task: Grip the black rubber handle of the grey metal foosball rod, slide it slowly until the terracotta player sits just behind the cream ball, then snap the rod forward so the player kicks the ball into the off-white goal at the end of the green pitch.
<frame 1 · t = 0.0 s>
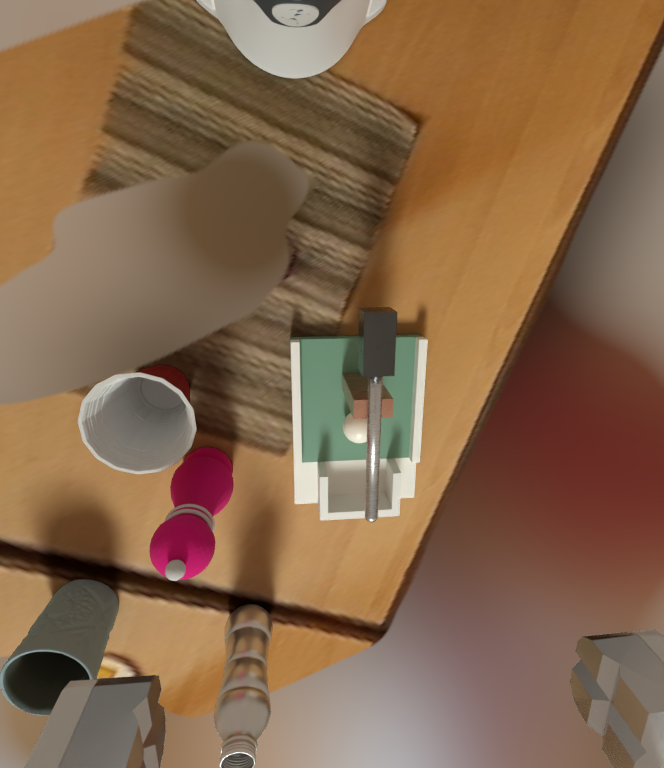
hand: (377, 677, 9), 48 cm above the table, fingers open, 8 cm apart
pitch: (354, 419, 59), on the table
plastic cup: (167, 387, 56), on the table
pepper mill: (208, 467, 60), on the table
ball: (359, 426, 56), point 3 cm above the table, touching pitch
grey textured cup: (89, 603, 64), on the table
kicker rod: (367, 368, 49), point 8 cm above the table, slide at 0.0 cm
plastic bottle: (250, 614, 67), on the table
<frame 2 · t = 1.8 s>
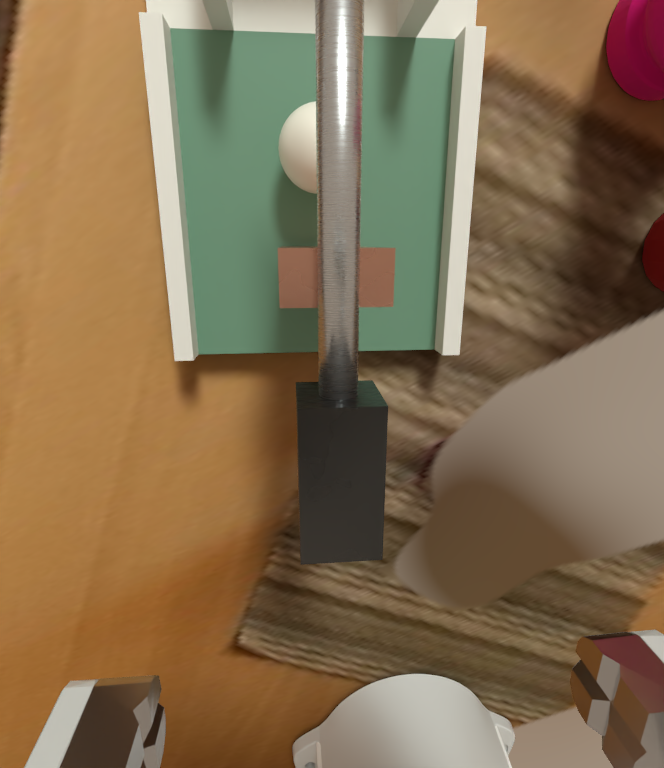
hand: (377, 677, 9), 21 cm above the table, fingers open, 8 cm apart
pitch: (315, 151, 26), on the table
pepper mill: (656, 38, 26), on the table
ball: (319, 149, 22), point 3 cm above the table, touching pitch
kicker rod: (328, 344, 20), point 8 cm above the table, slide at 0.0 cm
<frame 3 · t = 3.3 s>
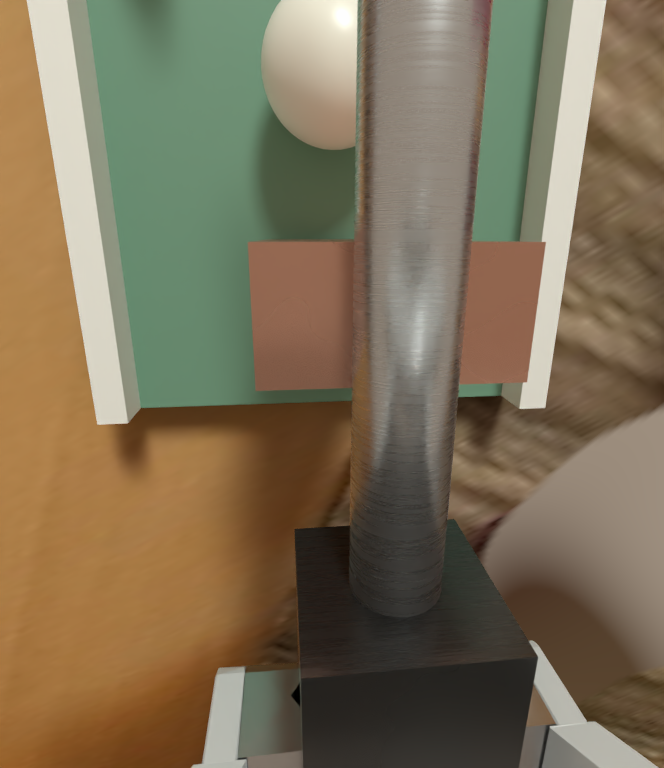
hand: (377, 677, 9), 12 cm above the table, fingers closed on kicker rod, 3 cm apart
pitch: (323, 87, 16), on the table
ball: (333, 69, 13), point 3 cm above the table, touching pitch
kicker rod: (353, 421, 11), point 8 cm above the table, slide at 0.0 cm, touching gripper
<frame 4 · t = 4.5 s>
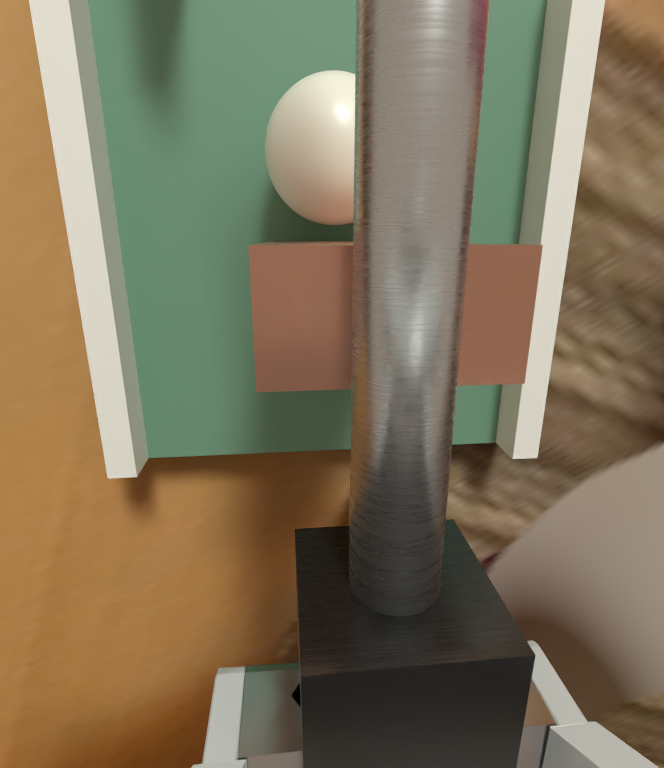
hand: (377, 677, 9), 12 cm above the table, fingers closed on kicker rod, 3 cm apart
pitch: (323, 154, 17), on the table
ball: (333, 152, 13), point 3 cm above the table, touching pitch
kicker rod: (353, 422, 11), point 8 cm above the table, slide at 2.0 cm, touching gripper
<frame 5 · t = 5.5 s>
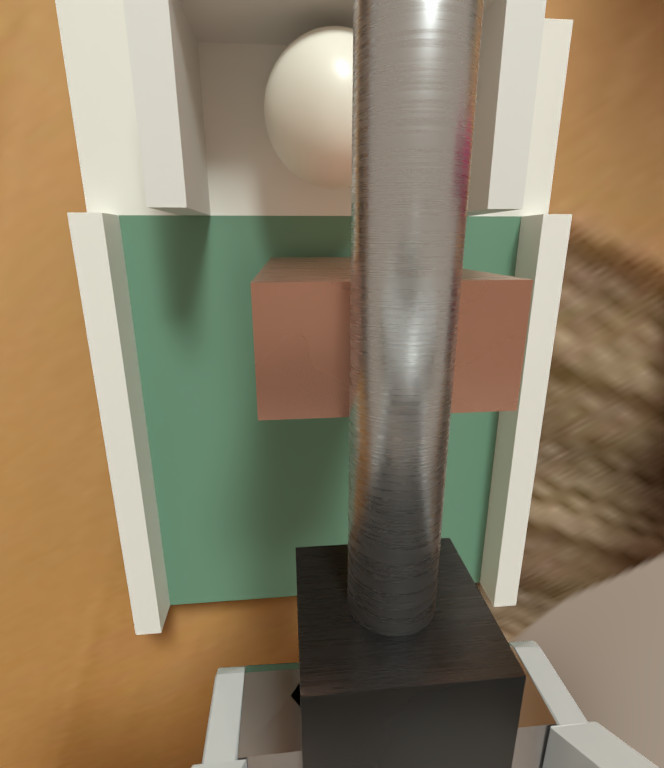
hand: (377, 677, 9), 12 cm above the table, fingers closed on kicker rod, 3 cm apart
pitch: (325, 347, 19), on the table
ball: (334, 113, 13), point 3 cm above the table, tilted 135°, touching pitch
kicker rod: (353, 439, 11), point 8 cm above the table, slide at 8.6 cm, touching gripper
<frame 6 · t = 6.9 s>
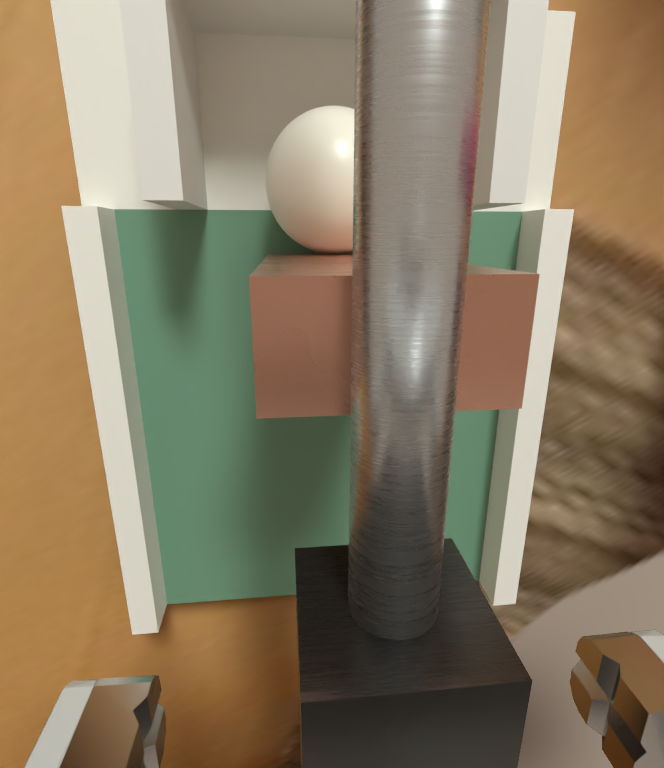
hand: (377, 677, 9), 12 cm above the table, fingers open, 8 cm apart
pitch: (324, 344, 19), on the table
ball: (333, 184, 14), point 3 cm above the table, tilted 166°, touching pitch
kicker rod: (352, 438, 11), point 8 cm above the table, slide at 8.6 cm
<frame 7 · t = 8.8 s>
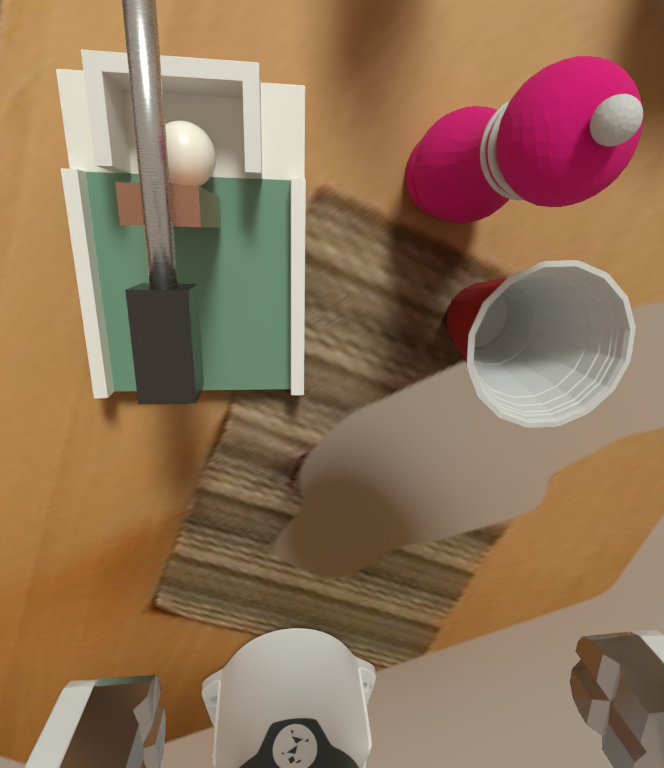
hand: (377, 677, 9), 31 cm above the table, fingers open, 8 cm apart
pitch: (198, 249, 35), on the table
plastic cup: (474, 315, 40), on the table
pepper mill: (443, 174, 36), on the table
ball: (184, 155, 30), point 3 cm above the table, tilted 178°, touching pitch
kicker rod: (178, 263, 28), point 8 cm above the table, slide at 8.6 cm
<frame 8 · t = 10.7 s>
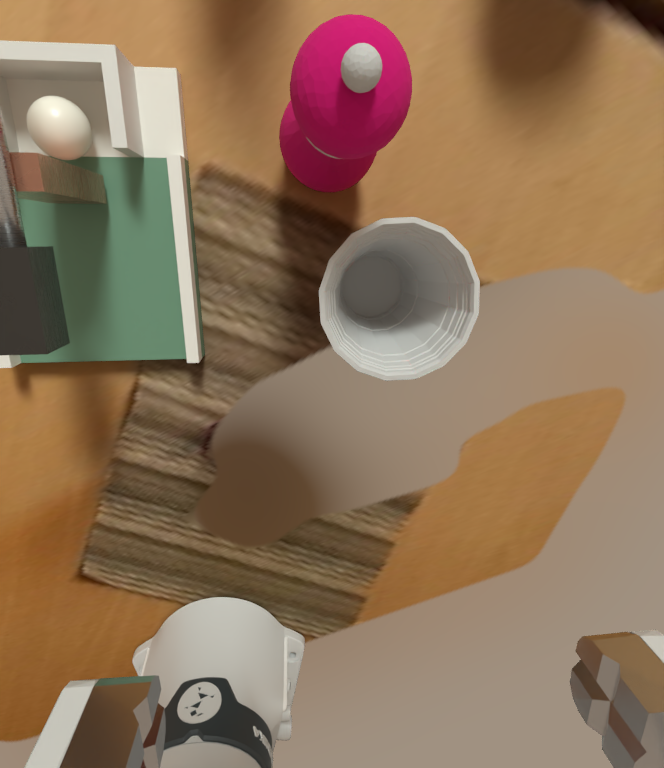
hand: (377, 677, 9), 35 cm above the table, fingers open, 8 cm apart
pitch: (94, 226, 38), on the table
plastic cup: (368, 285, 42), on the table
pepper mill: (323, 150, 38), on the table
ball: (60, 128, 33), point 3 cm above the table, tilted 170°, touching pitch
kicker rod: (47, 232, 30), point 8 cm above the table, slide at 8.6 cm
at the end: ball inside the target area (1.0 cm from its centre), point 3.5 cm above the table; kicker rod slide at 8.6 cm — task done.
